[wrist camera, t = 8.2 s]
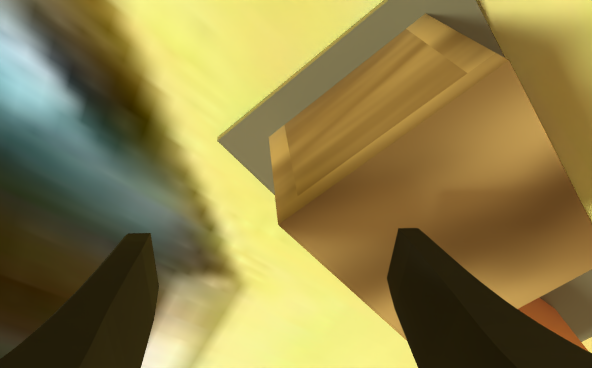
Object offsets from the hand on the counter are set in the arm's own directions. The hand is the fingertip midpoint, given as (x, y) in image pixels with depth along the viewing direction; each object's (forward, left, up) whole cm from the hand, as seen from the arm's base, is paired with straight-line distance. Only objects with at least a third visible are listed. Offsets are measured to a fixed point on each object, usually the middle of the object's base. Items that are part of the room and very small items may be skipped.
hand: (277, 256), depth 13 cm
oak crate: (-7, +1, -10) cm, 12 cm away
